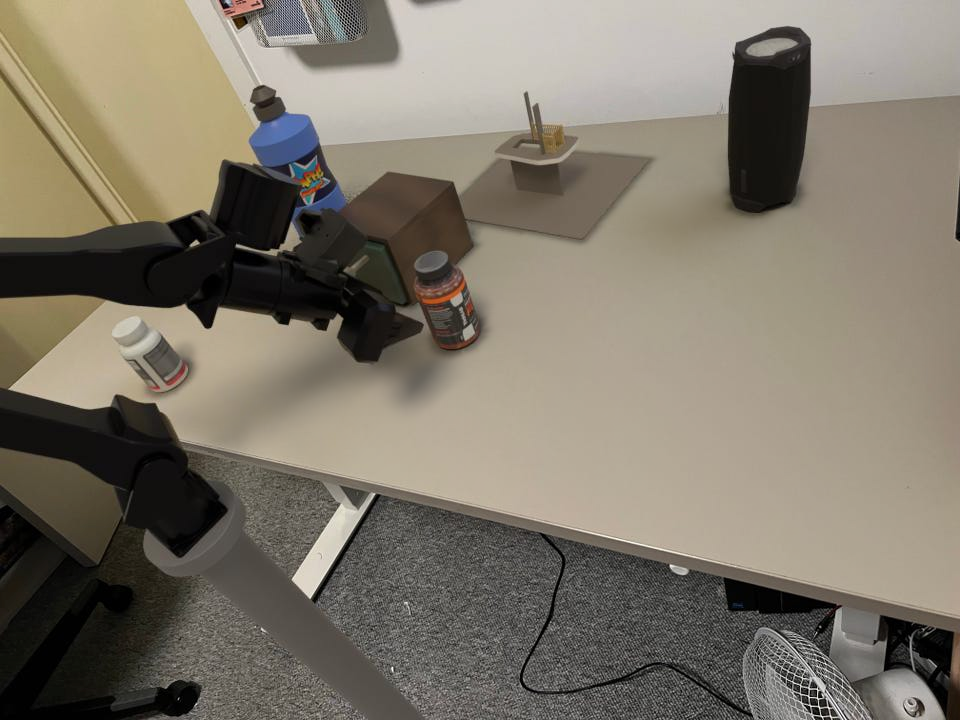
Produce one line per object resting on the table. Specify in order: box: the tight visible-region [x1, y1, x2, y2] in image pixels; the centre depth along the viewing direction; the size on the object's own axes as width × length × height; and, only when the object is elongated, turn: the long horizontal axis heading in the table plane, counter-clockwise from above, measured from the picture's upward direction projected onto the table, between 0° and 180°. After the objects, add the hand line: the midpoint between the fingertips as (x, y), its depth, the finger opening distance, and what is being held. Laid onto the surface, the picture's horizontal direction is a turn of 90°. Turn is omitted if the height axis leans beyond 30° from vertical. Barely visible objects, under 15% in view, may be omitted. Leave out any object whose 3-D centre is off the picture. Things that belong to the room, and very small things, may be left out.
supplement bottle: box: [414, 251, 481, 350], centre depth 74 cm, size 6×6×11 cm
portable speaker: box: [727, 25, 812, 213], centre depth 75 cm, size 9×9×20 cm
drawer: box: [343, 239, 408, 305], centre depth 86 cm, size 17×11×9 cm
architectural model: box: [459, 91, 649, 240], centre depth 93 cm, size 21×25×14 cm
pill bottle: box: [111, 315, 189, 393], centre depth 83 cm, size 5×5×10 cm
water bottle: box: [248, 84, 348, 238], centre depth 94 cm, size 9×9×25 cm
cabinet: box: [338, 171, 474, 306], centre depth 87 cm, size 14×13×11 cm
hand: (400, 311), depth 71 cm, fingers open, 9 cm apart
